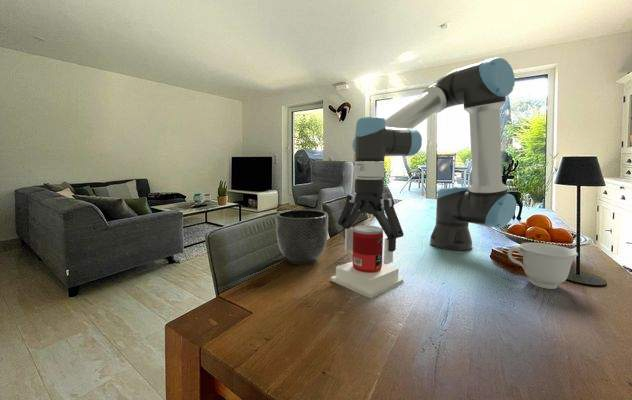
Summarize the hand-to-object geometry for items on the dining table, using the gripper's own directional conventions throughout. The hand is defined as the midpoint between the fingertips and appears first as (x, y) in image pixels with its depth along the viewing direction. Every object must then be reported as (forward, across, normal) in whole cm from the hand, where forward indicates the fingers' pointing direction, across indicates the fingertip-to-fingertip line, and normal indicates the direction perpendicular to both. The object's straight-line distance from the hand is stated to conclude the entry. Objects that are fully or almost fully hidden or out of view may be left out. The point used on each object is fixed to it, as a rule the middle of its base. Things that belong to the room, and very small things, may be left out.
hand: (367, 256), depth 78 cm
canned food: (+3, 0, 0) cm, 3 cm away
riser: (+7, 0, 0) cm, 7 cm away
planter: (+7, -25, -3) cm, 26 cm away
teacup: (+7, +31, +34) cm, 47 cm away
